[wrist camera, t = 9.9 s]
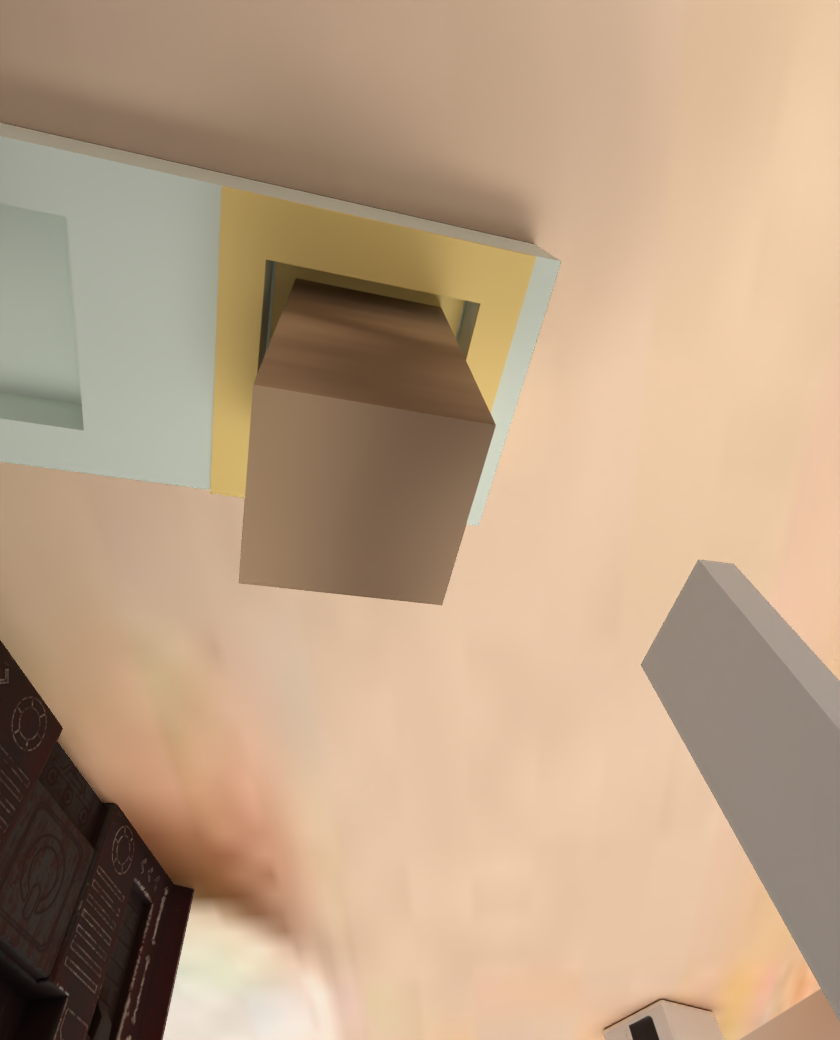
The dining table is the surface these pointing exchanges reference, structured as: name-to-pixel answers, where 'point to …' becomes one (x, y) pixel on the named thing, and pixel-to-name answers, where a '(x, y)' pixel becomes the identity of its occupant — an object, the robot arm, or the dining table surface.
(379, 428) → the walnut block
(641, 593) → the dining table surface
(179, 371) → the sorting tray
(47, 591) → the dining table surface
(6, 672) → the crate
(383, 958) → the dining table surface
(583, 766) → the dining table surface
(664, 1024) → the container
